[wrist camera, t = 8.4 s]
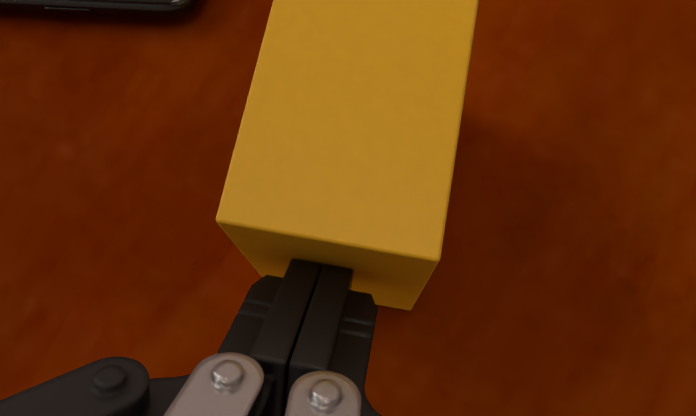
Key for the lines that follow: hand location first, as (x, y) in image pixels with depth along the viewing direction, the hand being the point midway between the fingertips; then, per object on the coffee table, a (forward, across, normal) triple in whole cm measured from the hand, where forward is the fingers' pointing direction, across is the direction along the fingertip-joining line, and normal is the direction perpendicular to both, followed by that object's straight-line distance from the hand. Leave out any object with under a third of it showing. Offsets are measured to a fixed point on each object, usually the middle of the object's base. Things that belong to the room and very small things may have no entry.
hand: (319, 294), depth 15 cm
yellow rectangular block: (+6, 0, 0) cm, 6 cm away
